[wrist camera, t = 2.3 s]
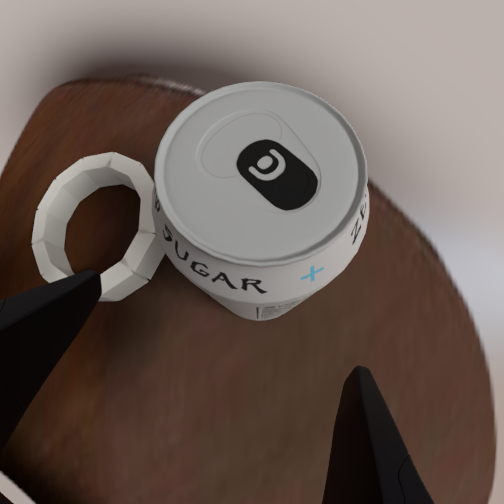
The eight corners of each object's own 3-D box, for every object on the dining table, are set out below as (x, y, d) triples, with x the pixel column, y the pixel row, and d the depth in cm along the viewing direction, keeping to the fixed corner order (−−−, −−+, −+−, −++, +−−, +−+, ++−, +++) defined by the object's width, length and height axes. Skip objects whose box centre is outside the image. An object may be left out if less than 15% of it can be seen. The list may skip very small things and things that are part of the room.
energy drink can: (259, 216, 22) (261, 40, 8) (322, 276, 21) (434, 169, 7) (196, 274, 21) (86, 165, 7) (258, 339, 20) (259, 363, 6)
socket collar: (81, 326, 20) (59, 324, 18) (41, 218, 23) (21, 206, 20) (195, 252, 22) (185, 239, 19) (136, 150, 24) (123, 130, 21)
